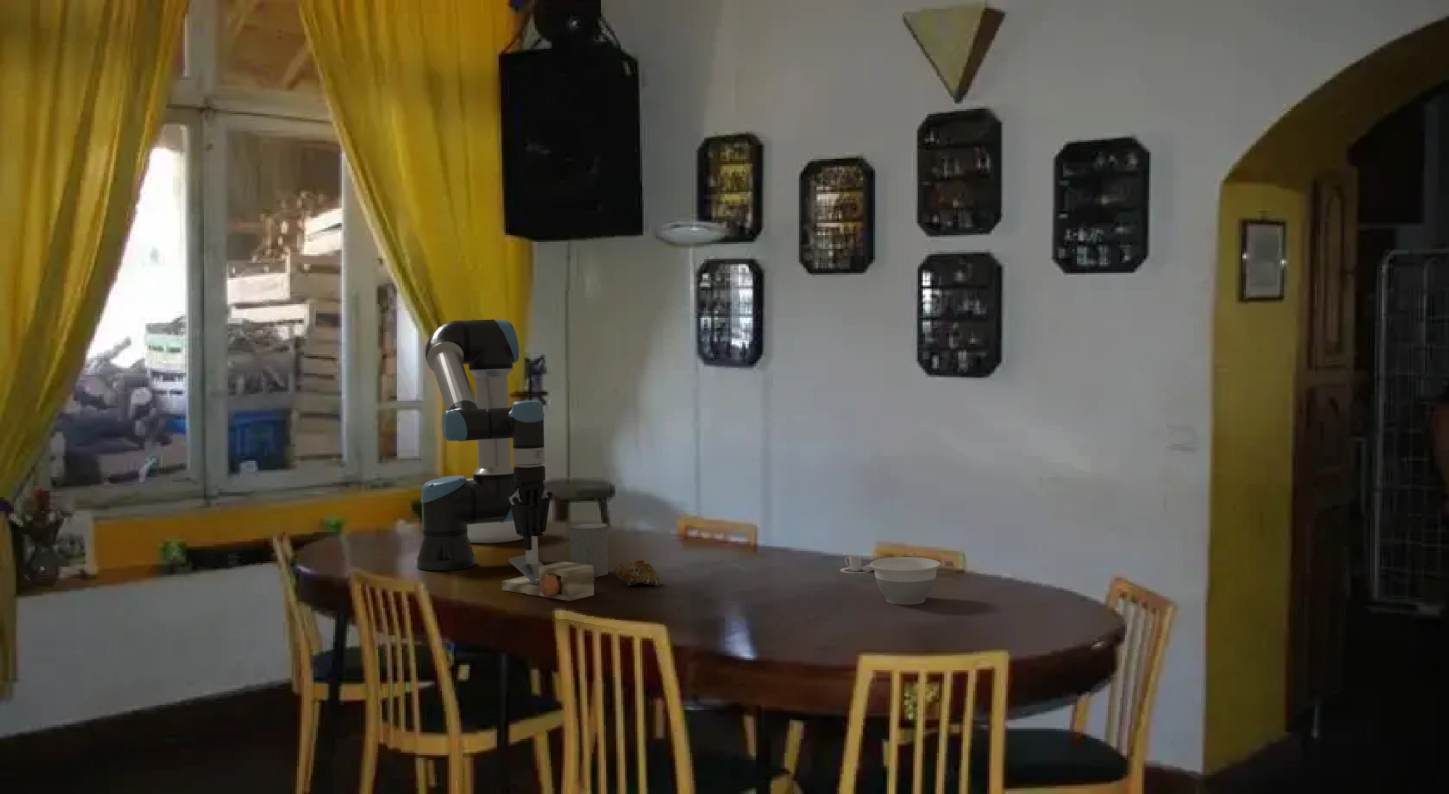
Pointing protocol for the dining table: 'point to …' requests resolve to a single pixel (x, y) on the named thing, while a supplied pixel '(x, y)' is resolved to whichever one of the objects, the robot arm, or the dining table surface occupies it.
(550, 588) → the pin
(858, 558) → the teacup and saucer
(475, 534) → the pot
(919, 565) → the bowl
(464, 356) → the robot arm
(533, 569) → the latch flap
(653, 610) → the dining table surface
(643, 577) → the seashell
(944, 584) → the dining table surface
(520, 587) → the block
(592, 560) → the grey stone cylinder
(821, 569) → the dining table surface
